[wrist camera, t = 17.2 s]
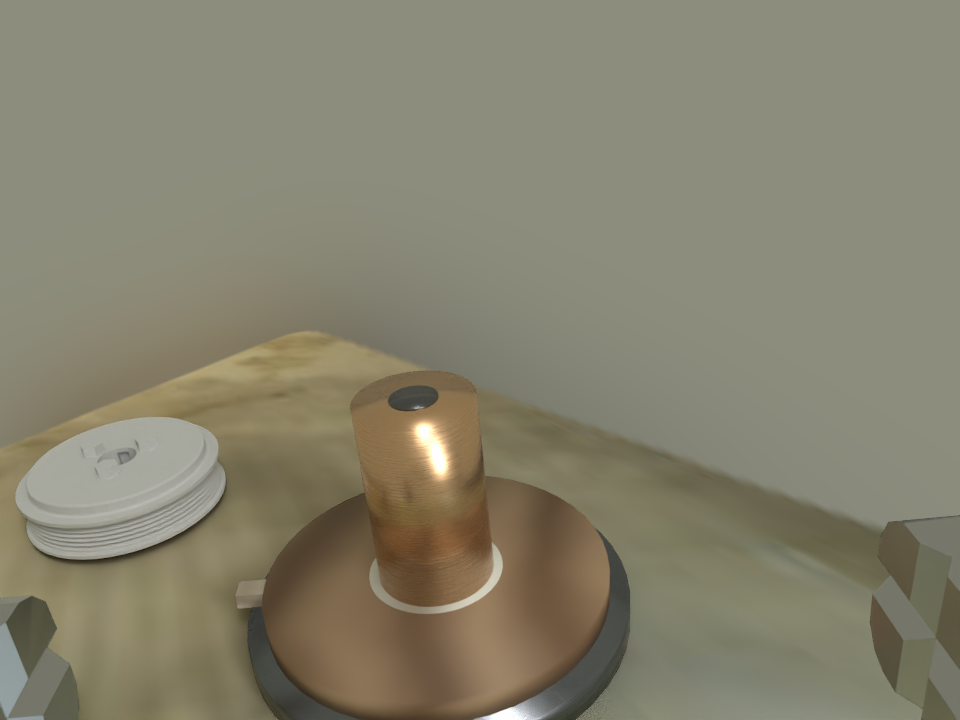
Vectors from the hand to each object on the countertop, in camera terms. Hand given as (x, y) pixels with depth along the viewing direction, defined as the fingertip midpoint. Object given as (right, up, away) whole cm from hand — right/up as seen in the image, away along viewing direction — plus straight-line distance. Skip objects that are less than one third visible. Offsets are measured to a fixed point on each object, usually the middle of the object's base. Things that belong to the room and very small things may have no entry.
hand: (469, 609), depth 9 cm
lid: (-23, -8, +50) cm, 56 cm away
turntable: (-3, -10, +38) cm, 39 cm away
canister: (-2, -8, +37) cm, 38 cm away
